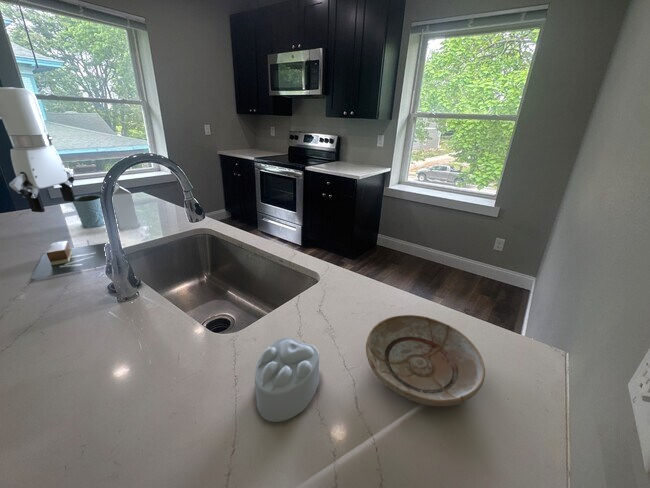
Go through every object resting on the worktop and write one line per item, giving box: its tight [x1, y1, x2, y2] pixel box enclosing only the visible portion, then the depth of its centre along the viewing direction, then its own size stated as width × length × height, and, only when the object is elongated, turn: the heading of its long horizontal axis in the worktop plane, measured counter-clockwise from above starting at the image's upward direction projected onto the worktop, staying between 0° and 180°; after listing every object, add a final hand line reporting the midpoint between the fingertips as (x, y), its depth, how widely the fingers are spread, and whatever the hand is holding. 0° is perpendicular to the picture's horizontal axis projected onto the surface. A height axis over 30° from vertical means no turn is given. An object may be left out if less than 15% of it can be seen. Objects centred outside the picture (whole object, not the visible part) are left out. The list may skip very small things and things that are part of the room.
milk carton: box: [113, 182, 140, 231], centre depth 124 cm, size 7×7×19 cm
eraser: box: [46, 240, 72, 265], centre depth 98 cm, size 8×4×4 cm, turn 32°
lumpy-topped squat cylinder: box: [254, 336, 320, 423], centre depth 55 cm, size 10×13×9 cm
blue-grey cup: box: [72, 194, 106, 229], centre depth 126 cm, size 10×10×12 cm
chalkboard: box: [30, 242, 107, 281], centre depth 100 cm, size 20×20×1 cm
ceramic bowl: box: [365, 314, 486, 407], centre depth 62 cm, size 23×24×5 cm
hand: (55, 206), depth 83 cm, fingers open, 9 cm apart
